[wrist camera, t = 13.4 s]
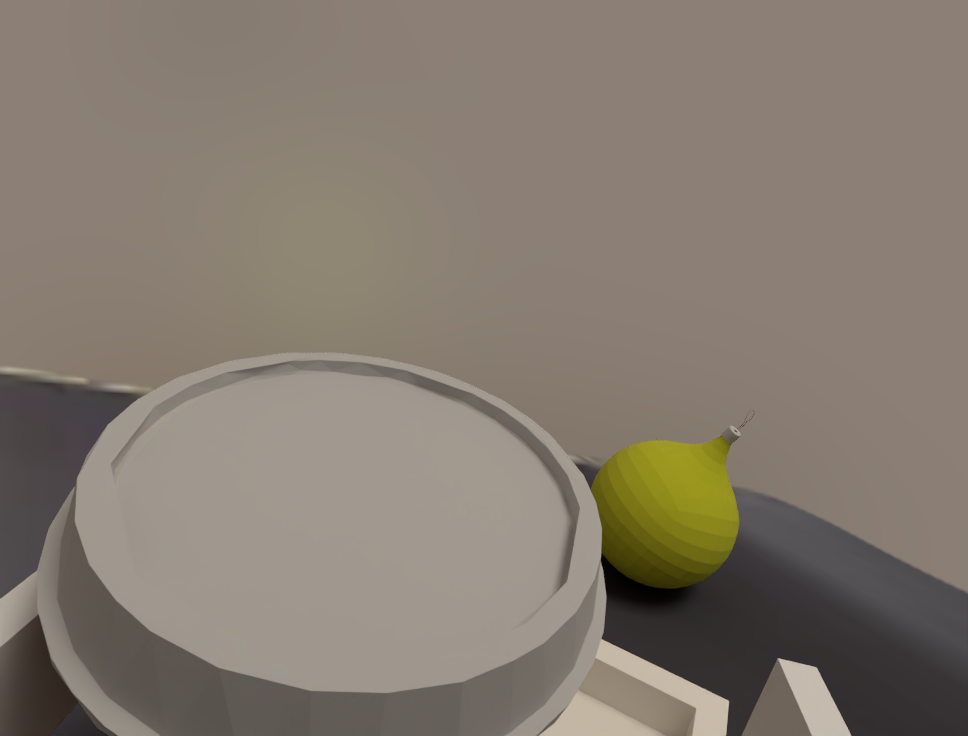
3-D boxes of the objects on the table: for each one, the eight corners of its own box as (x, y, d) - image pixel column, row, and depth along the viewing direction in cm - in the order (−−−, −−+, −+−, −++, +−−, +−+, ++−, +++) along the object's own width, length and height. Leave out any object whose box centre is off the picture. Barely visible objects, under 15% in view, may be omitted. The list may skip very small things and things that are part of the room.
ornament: (740, 621, 28) (819, 436, 24) (606, 624, 26) (670, 425, 23) (668, 527, 34) (722, 371, 31) (555, 525, 33) (600, 358, 29)
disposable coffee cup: (172, 657, 19) (178, 313, 14) (462, 676, 21) (563, 380, 15) (-31, 1141, 10) (-212, 712, 5) (493, 1100, 12) (735, 755, 7)
